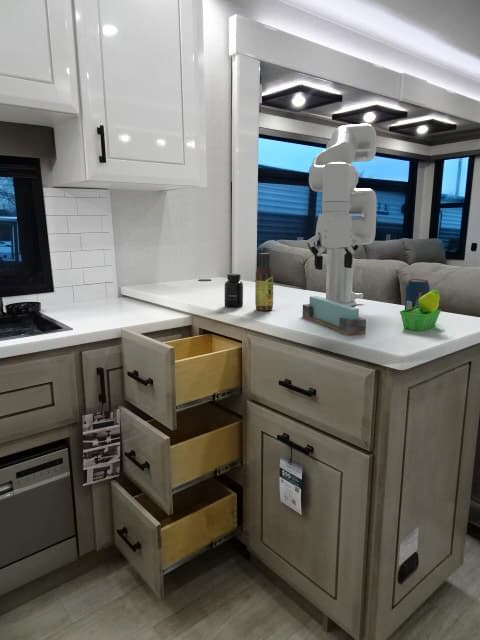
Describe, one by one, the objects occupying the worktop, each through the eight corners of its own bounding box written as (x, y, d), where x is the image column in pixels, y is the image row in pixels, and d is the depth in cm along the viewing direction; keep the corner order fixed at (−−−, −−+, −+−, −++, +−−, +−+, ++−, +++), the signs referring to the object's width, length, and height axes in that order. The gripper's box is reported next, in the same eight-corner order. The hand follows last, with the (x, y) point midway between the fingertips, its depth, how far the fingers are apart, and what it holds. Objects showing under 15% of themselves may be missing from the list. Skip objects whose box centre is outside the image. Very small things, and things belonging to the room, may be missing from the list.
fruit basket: (415, 322, 136) (418, 285, 134) (445, 327, 130) (448, 288, 128) (397, 328, 129) (399, 289, 126) (427, 333, 122) (430, 293, 120)
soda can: (414, 314, 148) (417, 278, 145) (432, 318, 142) (435, 280, 139) (399, 316, 144) (401, 279, 142) (416, 320, 138) (419, 282, 136)
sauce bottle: (271, 311, 154) (272, 253, 150) (253, 311, 156) (253, 253, 151) (274, 308, 161) (274, 252, 156) (257, 307, 162) (257, 252, 158)
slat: (309, 314, 145) (309, 296, 144) (315, 314, 146) (316, 296, 144) (350, 331, 123) (351, 309, 121) (357, 330, 123) (358, 308, 122)
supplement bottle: (229, 309, 160) (229, 275, 158) (221, 306, 166) (220, 273, 164) (246, 307, 163) (246, 274, 161) (237, 304, 169) (237, 272, 167)
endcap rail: (317, 315, 148) (318, 303, 147) (365, 333, 123) (366, 319, 122) (302, 316, 146) (302, 304, 145) (347, 335, 121) (348, 321, 120)
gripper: (354, 208, 133) (351, 265, 137) (302, 209, 128) (301, 268, 132) (369, 208, 127) (366, 268, 130) (314, 208, 121) (313, 271, 125)
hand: (333, 268), depth 131 cm, fingers open, 9 cm apart
